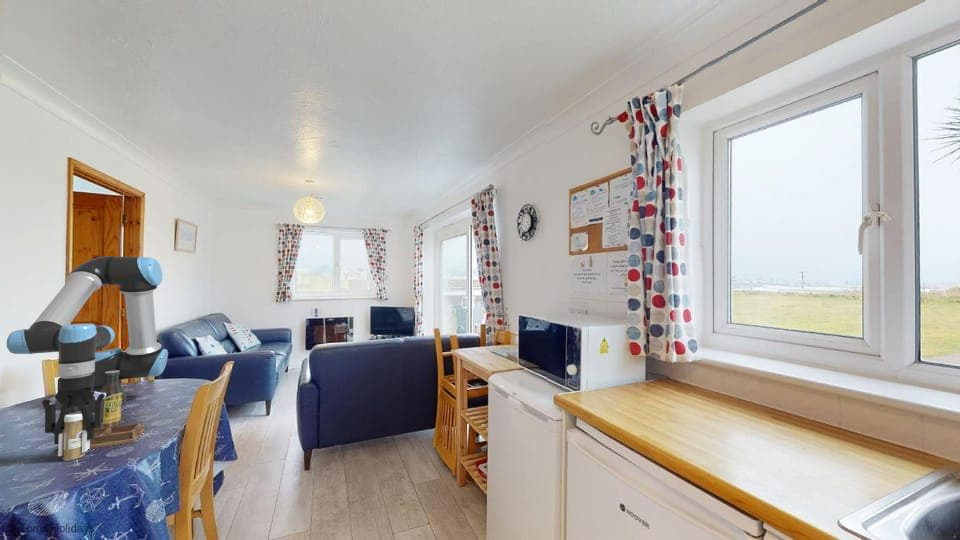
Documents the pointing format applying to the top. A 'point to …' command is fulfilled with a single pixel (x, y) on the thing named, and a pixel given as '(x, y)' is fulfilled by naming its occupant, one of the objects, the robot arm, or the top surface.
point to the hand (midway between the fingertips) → (74, 452)
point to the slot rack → (116, 435)
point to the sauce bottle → (111, 400)
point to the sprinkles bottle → (73, 436)
